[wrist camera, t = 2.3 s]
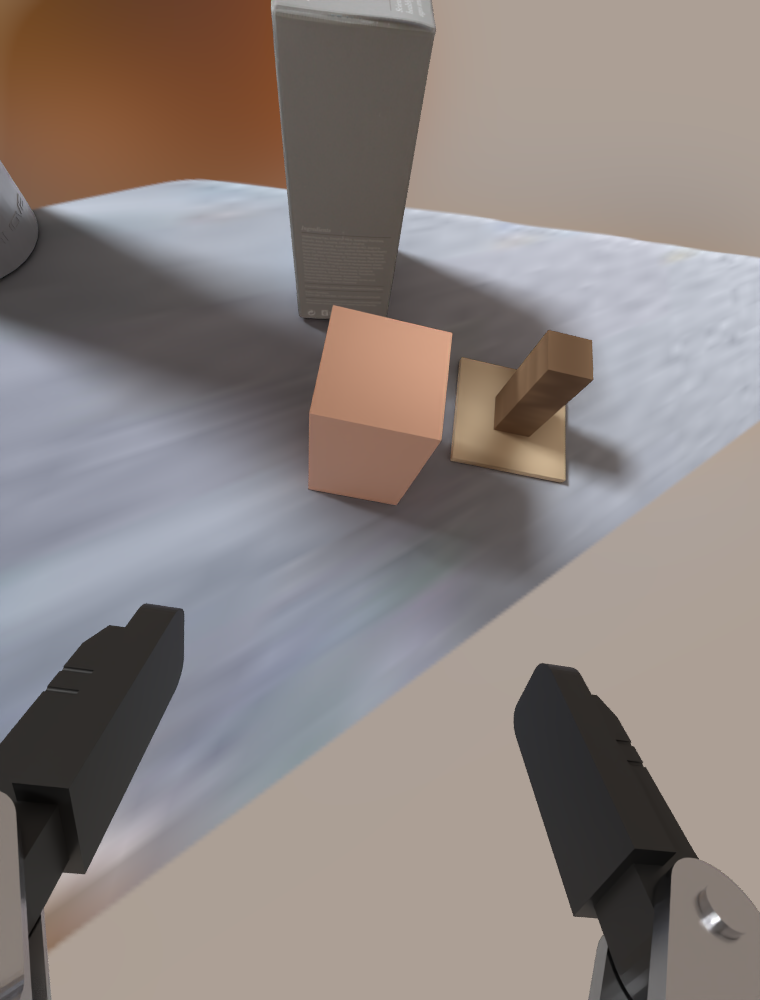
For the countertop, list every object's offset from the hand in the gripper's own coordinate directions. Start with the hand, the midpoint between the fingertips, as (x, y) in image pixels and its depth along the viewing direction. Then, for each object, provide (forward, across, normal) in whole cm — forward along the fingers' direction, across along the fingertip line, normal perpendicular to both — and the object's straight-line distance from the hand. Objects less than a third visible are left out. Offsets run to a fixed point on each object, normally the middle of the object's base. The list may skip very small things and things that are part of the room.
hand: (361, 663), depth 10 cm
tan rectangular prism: (+19, 0, +2) cm, 19 cm away
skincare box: (+29, +4, -8) cm, 30 cm away
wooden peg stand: (+22, -10, -1) cm, 25 cm away
